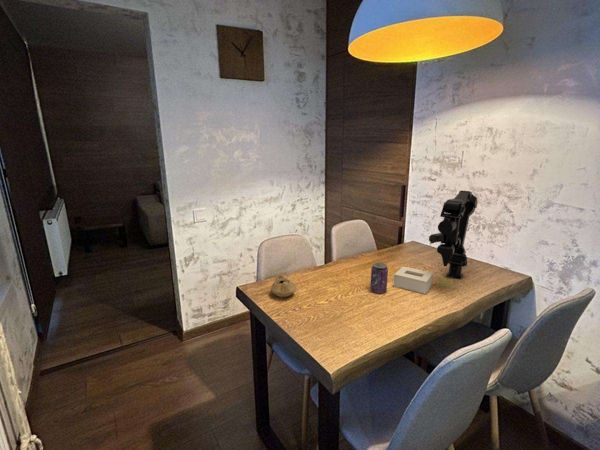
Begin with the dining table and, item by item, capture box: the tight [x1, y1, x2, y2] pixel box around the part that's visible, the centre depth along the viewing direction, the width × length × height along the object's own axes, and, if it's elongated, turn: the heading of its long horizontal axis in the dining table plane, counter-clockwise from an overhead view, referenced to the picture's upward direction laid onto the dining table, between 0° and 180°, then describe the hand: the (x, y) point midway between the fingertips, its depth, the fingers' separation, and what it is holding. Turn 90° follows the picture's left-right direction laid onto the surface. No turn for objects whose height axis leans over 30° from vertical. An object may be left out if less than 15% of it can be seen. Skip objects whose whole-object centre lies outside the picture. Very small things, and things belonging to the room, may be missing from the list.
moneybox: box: [393, 266, 434, 295], centre depth 147 cm, size 12×14×6 cm
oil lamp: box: [270, 275, 297, 298], centre depth 139 cm, size 11×15×8 cm
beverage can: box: [369, 262, 389, 294], centre depth 141 cm, size 7×7×12 cm
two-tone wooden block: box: [436, 274, 454, 291], centre depth 146 cm, size 2×6×5 cm, turn 54°
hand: (447, 262), depth 143 cm, fingers open, 9 cm apart
